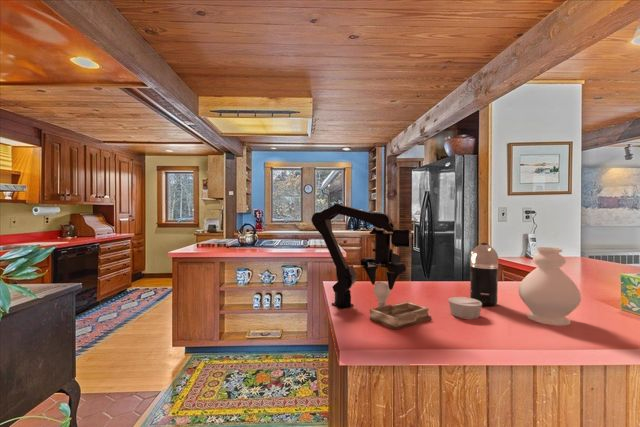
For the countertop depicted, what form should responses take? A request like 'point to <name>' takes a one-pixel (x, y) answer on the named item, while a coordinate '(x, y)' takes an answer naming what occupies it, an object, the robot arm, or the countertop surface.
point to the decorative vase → (549, 289)
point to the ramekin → (465, 307)
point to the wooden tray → (399, 315)
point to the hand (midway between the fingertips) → (381, 286)
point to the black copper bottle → (484, 275)
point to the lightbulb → (382, 292)
